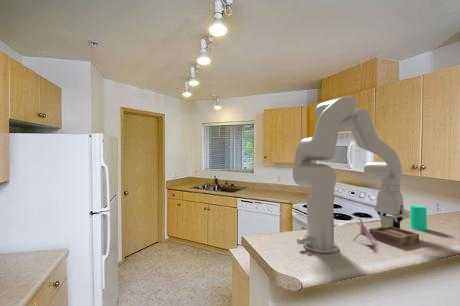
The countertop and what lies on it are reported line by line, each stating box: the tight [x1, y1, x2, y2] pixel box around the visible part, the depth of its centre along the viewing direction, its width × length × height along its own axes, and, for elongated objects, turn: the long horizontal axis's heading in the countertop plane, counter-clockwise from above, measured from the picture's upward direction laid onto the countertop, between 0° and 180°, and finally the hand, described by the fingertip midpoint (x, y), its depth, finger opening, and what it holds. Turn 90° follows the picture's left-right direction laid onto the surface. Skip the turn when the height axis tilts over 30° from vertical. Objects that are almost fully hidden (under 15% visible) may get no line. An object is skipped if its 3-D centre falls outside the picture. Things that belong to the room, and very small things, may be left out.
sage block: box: [380, 214, 395, 227], centre depth 107 cm, size 5×5×6 cm
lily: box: [352, 215, 378, 247], centre depth 94 cm, size 12×12×10 cm
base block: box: [368, 226, 420, 249], centre depth 96 cm, size 12×12×4 cm
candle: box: [409, 204, 428, 231], centre depth 111 cm, size 6×6×12 cm
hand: (390, 228), depth 107 cm, fingers closed on sage block, 5 cm apart
